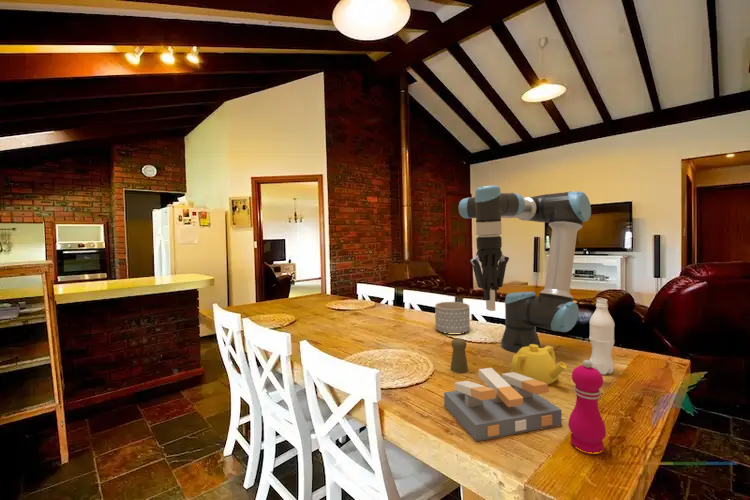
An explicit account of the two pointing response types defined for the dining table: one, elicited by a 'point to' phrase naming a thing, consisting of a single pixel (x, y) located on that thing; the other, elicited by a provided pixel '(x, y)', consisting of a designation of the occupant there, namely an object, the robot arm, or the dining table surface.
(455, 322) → the planter
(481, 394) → the rocker
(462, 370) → the olive brown shaker
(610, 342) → the water bottle
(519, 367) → the teapot
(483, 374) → the rocker
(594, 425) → the pepper mill
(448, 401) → the switch box
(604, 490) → the dining table surface
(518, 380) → the rocker
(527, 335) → the robot arm
